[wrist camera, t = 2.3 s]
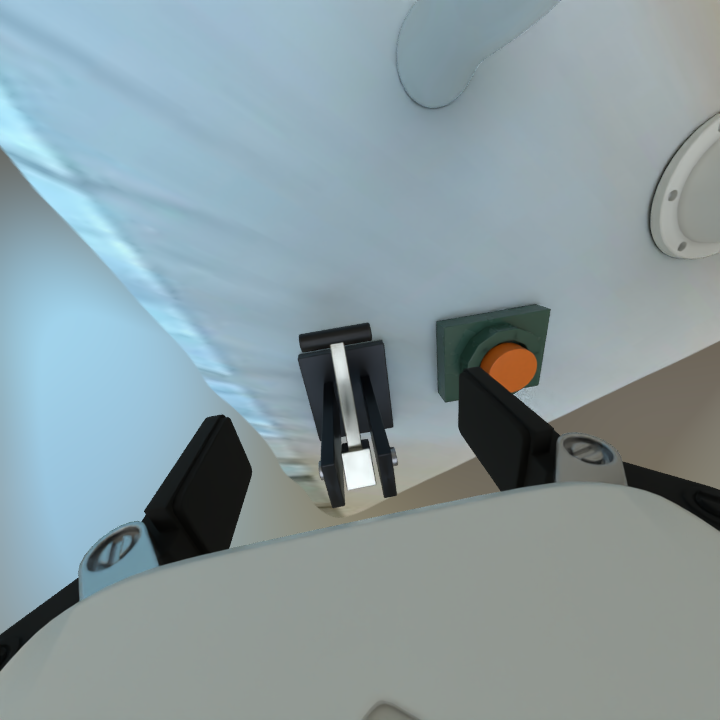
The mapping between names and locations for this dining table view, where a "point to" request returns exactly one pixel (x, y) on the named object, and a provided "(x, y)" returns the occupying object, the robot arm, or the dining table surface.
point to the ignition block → (487, 342)
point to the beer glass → (457, 42)
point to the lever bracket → (370, 410)
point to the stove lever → (346, 399)
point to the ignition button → (510, 365)
